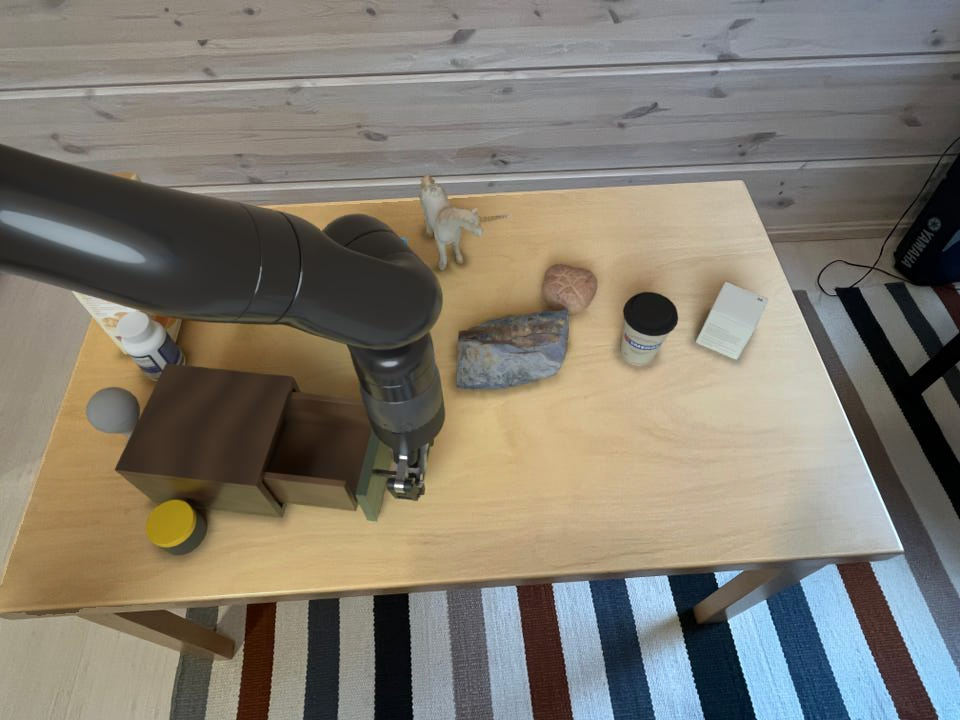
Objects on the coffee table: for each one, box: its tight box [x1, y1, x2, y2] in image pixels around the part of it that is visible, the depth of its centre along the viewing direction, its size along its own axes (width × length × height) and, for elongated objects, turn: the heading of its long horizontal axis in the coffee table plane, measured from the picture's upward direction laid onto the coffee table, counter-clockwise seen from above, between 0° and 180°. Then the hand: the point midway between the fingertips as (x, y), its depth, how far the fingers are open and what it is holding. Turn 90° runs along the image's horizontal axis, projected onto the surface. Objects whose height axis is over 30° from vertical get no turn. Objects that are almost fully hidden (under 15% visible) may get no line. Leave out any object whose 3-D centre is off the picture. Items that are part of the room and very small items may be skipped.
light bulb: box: [85, 386, 141, 440], centre depth 75 cm, size 5×5×10 cm
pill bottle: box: [116, 312, 186, 382], centre depth 81 cm, size 5×5×10 cm
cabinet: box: [114, 364, 303, 519], centre depth 74 cm, size 16×14×10 cm
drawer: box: [261, 392, 431, 522], centre depth 73 cm, size 20×13×8 cm, turn 83°
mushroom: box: [541, 263, 598, 316], centre depth 90 cm, size 8×6×8 cm
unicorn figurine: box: [418, 173, 509, 271], centre depth 91 cm, size 7×20×13 cm, turn 36°
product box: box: [695, 281, 769, 361], centre depth 84 cm, size 6×6×7 cm
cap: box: [144, 500, 207, 556], centre depth 71 cm, size 5×5×4 cm
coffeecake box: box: [71, 172, 183, 355], centre depth 83 cm, size 15×7×20 cm, turn 2°
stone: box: [456, 309, 570, 391], centre depth 84 cm, size 17×5×10 cm
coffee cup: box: [620, 291, 679, 367], centre depth 82 cm, size 7×7×10 cm
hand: (420, 467), depth 73 cm, fingers closed on drawer, 5 cm apart
